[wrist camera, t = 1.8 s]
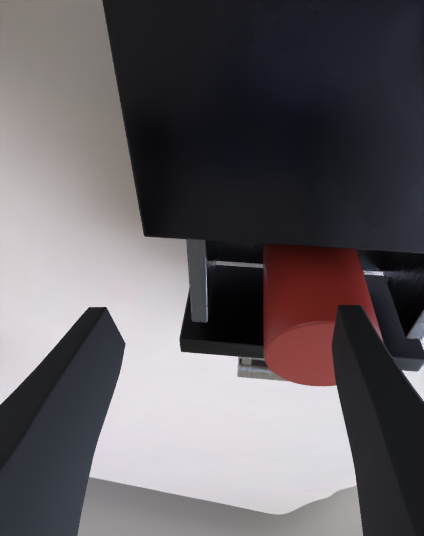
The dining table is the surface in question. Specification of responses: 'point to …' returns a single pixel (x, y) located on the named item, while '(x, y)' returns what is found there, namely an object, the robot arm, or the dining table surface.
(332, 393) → the dining table surface
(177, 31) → the warmer
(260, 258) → the tray drawer
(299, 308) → the spice tin
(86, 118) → the dining table surface
